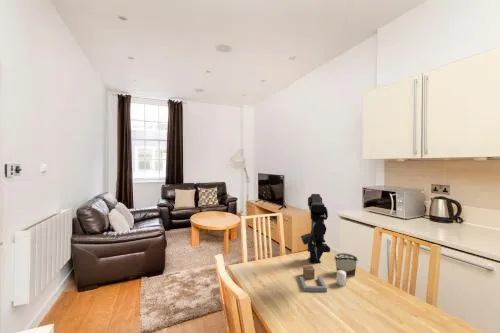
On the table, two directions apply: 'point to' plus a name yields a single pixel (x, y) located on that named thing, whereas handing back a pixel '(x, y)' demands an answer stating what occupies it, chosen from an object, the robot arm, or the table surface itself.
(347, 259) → the food container
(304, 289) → the grey bay
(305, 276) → the walnut block
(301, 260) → the table surface
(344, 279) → the white rounded cylinder
